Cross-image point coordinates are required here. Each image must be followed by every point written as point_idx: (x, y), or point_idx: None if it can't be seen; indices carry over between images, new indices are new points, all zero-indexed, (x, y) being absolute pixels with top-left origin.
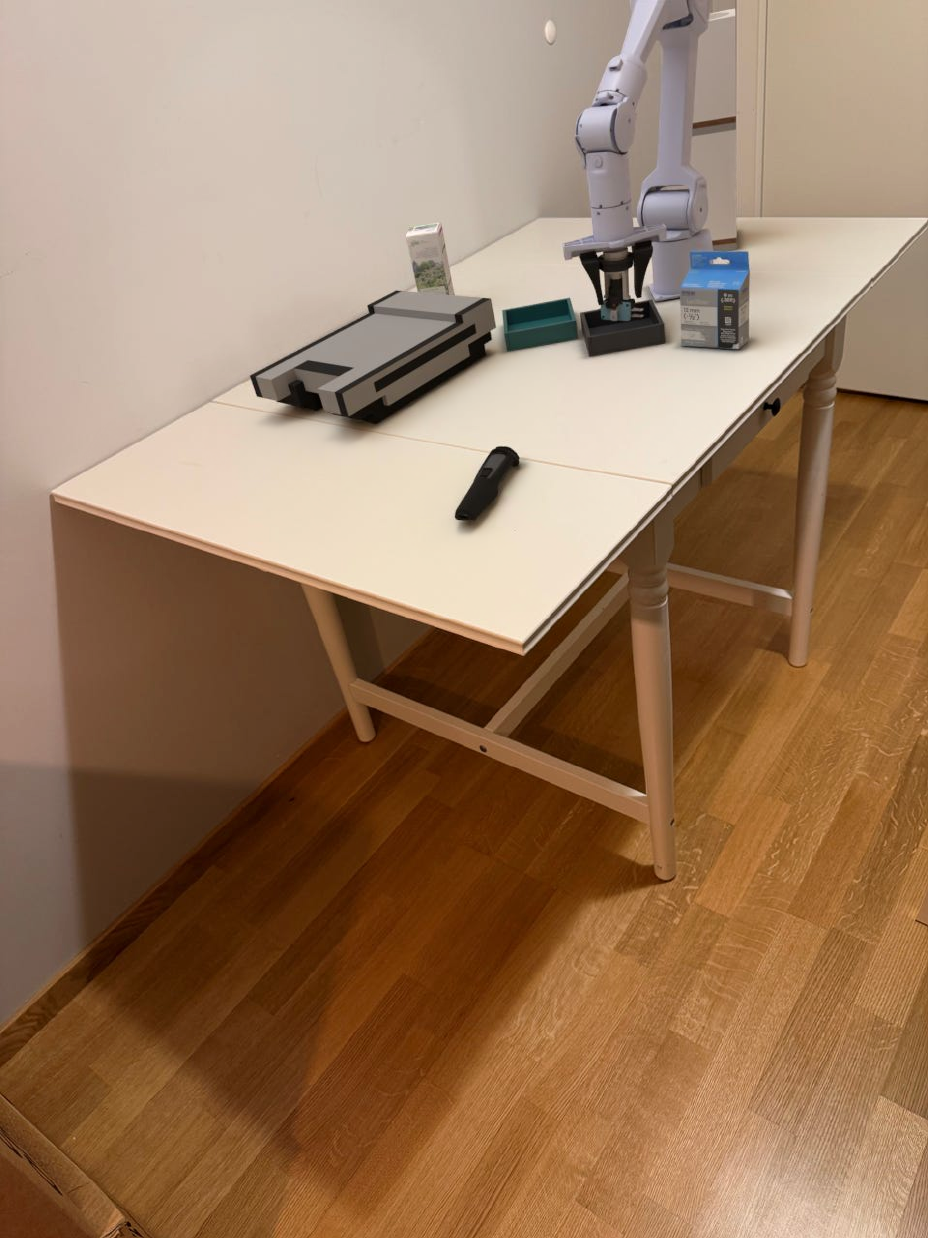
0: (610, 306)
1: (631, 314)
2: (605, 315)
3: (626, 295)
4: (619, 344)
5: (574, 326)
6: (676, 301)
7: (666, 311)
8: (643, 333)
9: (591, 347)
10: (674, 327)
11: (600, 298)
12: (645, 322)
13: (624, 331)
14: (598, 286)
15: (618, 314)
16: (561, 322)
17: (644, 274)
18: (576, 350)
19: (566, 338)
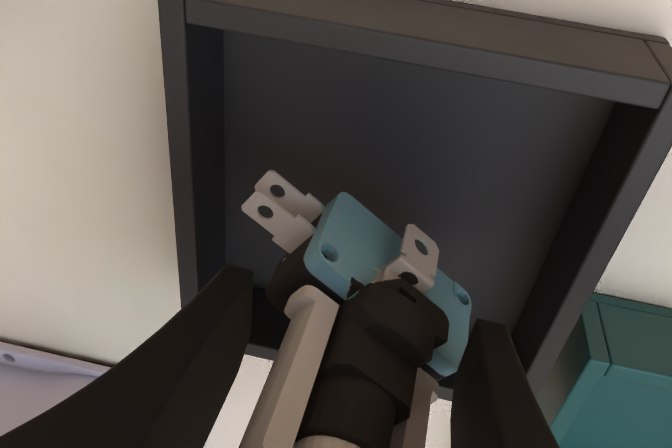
0: (424, 306)
1: (318, 218)
2: (451, 295)
3: (312, 308)
4: (471, 17)
5: (598, 338)
6: (114, 348)
7: (157, 300)
8: (308, 3)
9: (658, 54)
10: (140, 135)
11: (502, 350)
12: (253, 244)
13: (429, 36)
14: (520, 428)
15: (389, 251)
16: (669, 382)
17: (122, 360)
18: (666, 170)
19: (637, 308)
